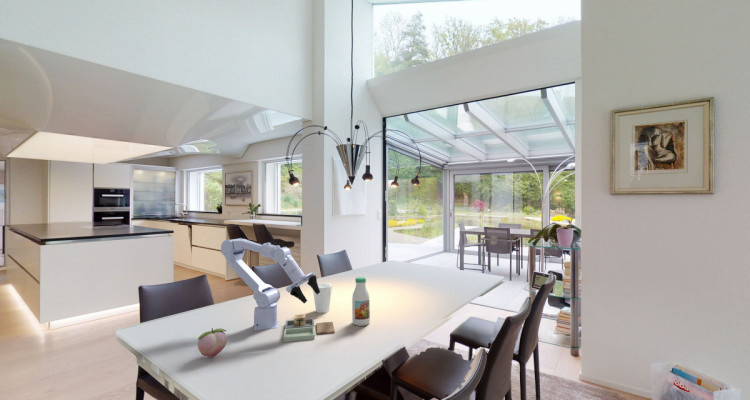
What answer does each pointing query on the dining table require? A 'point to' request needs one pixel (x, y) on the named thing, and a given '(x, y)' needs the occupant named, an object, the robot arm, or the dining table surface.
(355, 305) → the milk bottle
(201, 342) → the decorative fruit
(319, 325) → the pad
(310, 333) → the sage tray
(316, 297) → the foam cup
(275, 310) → the robot arm
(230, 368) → the dining table surface
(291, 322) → the gray tray
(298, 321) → the letter cube
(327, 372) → the dining table surface
